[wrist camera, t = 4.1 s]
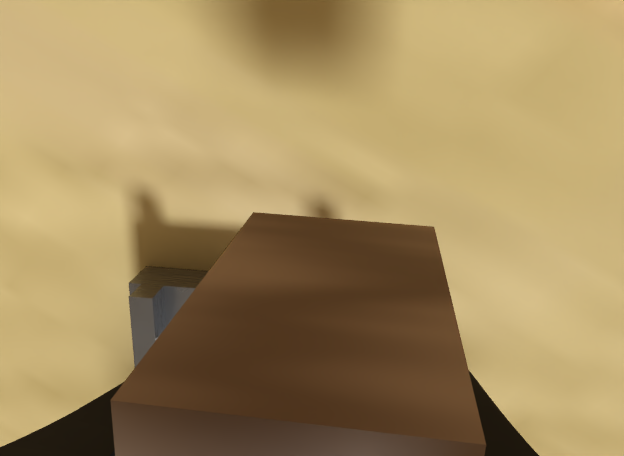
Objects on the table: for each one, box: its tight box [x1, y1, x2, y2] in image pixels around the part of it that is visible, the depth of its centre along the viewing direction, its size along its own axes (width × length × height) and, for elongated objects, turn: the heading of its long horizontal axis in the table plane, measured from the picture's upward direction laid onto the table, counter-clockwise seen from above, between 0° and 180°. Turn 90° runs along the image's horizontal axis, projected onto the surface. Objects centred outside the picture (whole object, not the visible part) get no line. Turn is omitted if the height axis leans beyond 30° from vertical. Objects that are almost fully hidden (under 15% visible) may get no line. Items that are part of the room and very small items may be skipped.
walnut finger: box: [110, 212, 486, 456], centre depth 10 cm, size 4×6×7 cm
